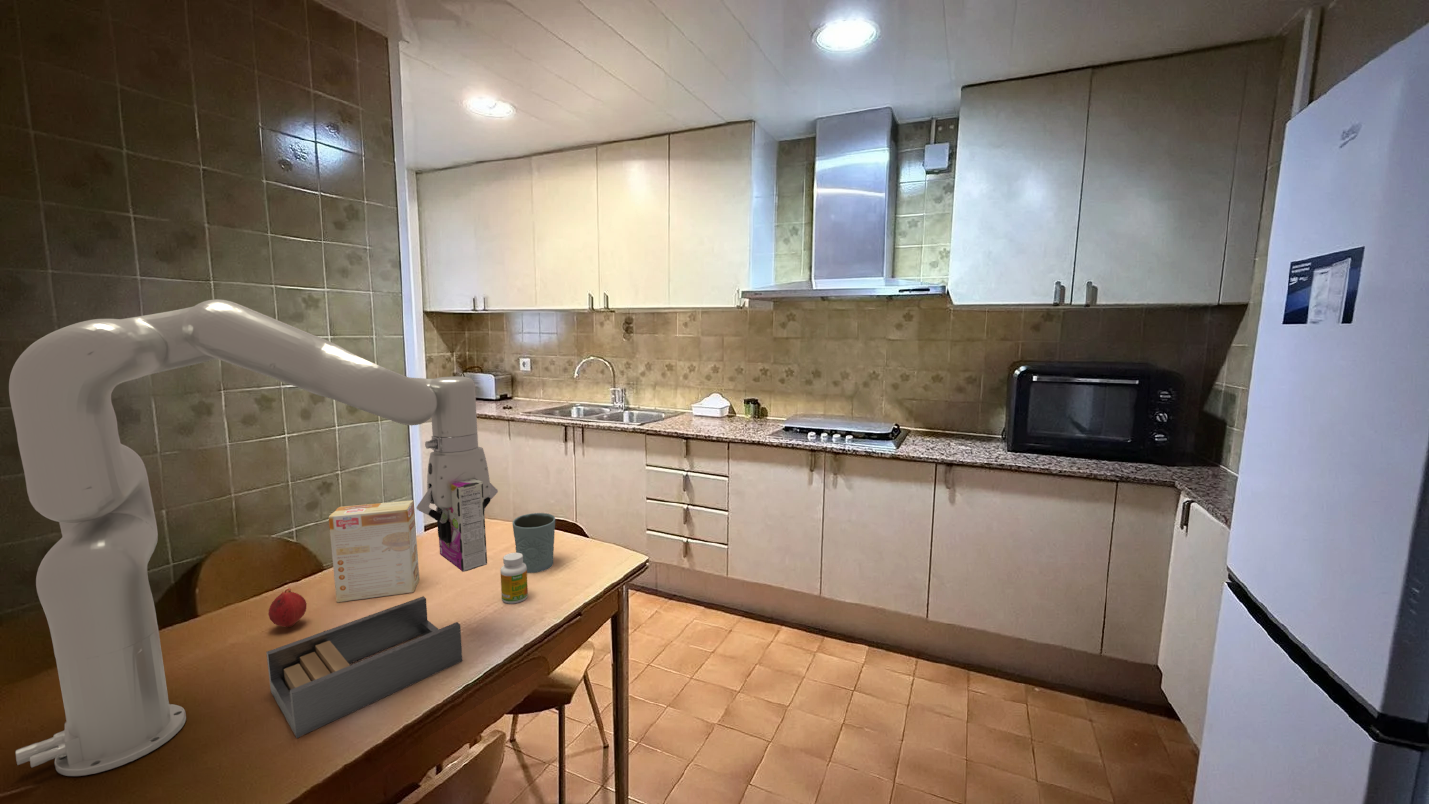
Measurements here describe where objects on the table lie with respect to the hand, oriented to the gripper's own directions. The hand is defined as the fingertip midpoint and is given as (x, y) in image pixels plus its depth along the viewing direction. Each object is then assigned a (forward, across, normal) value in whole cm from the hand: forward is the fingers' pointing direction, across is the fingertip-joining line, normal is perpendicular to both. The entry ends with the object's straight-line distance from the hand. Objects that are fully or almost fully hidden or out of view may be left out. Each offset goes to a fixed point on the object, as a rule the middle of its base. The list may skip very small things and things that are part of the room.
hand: (461, 535), depth 103 cm
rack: (+20, -17, -1) cm, 26 cm away
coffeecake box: (+20, -5, +31) cm, 37 cm away
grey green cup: (+20, +25, +16) cm, 36 cm away
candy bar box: (+5, 0, 0) cm, 5 cm away
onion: (+20, -22, +28) cm, 41 cm away
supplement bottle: (+20, +13, +5) cm, 24 cm away
